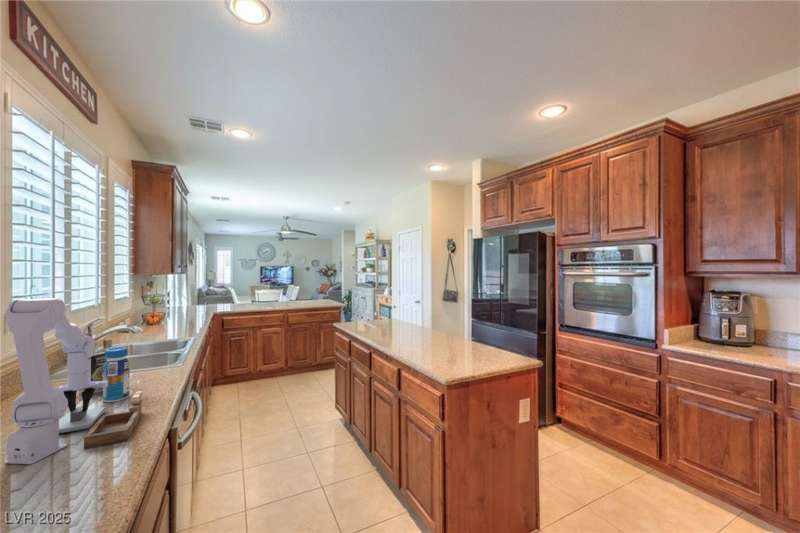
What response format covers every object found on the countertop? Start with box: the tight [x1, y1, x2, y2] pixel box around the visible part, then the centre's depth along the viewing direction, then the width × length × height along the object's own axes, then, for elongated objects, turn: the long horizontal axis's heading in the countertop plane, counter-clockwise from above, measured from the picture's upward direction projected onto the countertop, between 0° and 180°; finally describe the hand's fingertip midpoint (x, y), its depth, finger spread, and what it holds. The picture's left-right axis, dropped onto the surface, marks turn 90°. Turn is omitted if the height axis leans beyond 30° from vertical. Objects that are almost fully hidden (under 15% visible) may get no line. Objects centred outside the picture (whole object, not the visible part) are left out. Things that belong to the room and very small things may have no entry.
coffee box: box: [77, 350, 108, 395], centre depth 141 cm, size 9×6×16 cm
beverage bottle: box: [102, 346, 131, 403], centre depth 133 cm, size 8×8×20 cm
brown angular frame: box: [83, 399, 143, 450], centre depth 109 cm, size 22×10×4 cm, turn 27°
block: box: [131, 390, 143, 405], centre depth 119 cm, size 6×2×2 cm, turn 27°
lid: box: [59, 405, 107, 434], centre depth 112 cm, size 16×10×5 cm, turn 27°
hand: (79, 411), depth 112 cm, fingers closed on lid, 2 cm apart
